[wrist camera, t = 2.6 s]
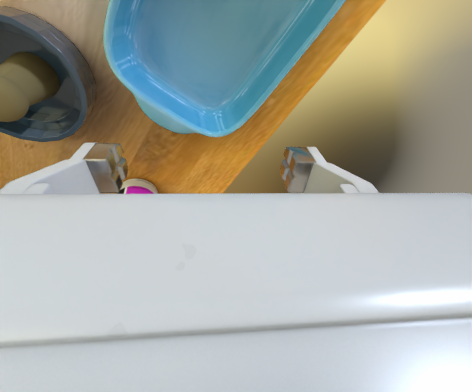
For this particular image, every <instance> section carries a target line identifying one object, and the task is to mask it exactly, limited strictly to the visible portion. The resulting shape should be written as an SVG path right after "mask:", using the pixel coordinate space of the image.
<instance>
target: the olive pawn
mask: <svg viewBox="0 0 472 392" xmlns="http://www.w3.org/2000/svg"><path fill="white" fill-rule="evenodd" d="M59 86H60V82H59V78H58V76H57V74H56V72H55V70H54V69H53V68H52V67H51V66H50V65H49V64H48V63H47V62H46V61H45V60H43V59H42V58H40V57H39V56H36V55H34V54H32V53H27V52H17V53H14V54H12V55H11V56H10V57H8V58H7V59H6V60H5V61H4V62H3V63H2V64H1V65H0V121H1V122H12V121H16V120H19V119H21V118H22V117H24V116H25V115H26V113H27V111H28V109H29V106H31V105H34V104H36V103H38V102H41V101H43V100H45V99H48V98H50V97H52V96H54V95H55V94H57V92H58V90H59Z"/></svg>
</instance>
